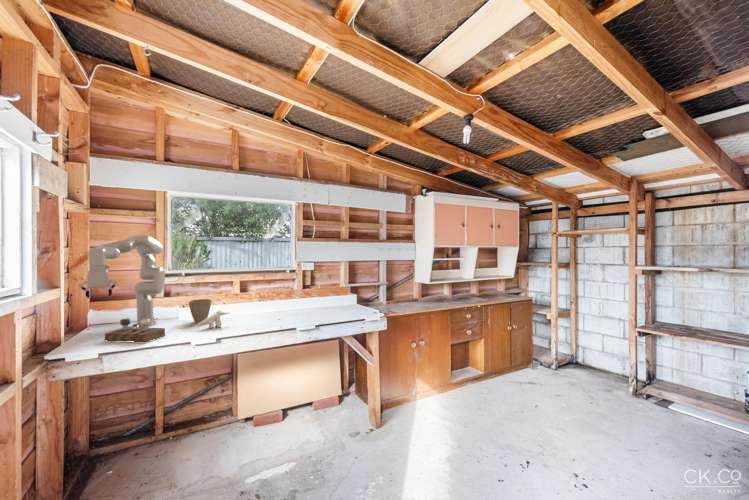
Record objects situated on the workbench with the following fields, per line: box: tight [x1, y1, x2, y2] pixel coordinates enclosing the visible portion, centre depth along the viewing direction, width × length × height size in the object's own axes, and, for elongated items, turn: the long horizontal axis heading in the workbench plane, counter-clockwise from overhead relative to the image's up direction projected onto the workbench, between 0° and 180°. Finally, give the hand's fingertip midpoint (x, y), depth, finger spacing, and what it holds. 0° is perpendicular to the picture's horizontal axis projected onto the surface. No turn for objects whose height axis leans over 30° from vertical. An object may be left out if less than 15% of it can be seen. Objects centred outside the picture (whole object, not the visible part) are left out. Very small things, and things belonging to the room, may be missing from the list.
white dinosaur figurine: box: [193, 309, 231, 329], centre depth 218 cm, size 7×24×11 cm, turn 130°
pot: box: [131, 323, 139, 331], centre depth 194 cm, size 3×3×4 cm
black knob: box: [119, 317, 131, 331], centre depth 195 cm, size 5×5×8 cm
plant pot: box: [188, 298, 212, 324], centre depth 234 cm, size 15×15×16 cm
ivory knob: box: [140, 319, 150, 332], centre depth 193 cm, size 5×5×8 cm
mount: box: [104, 326, 166, 343], centre depth 194 cm, size 28×14×5 cm, turn 83°
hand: (99, 296), depth 187 cm, fingers open, 9 cm apart
